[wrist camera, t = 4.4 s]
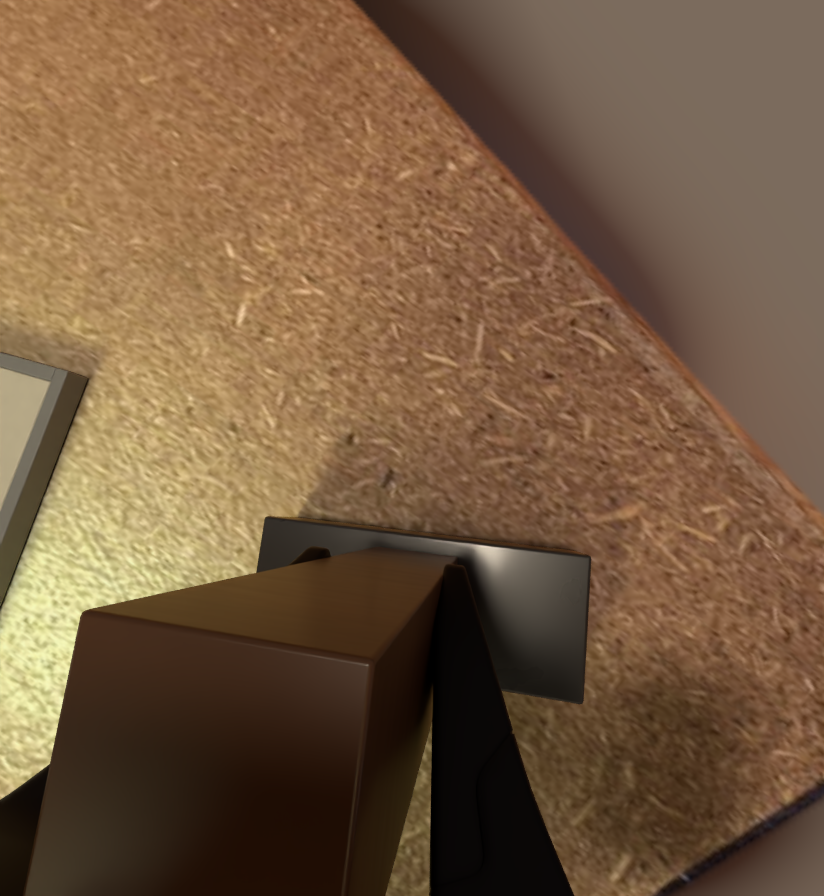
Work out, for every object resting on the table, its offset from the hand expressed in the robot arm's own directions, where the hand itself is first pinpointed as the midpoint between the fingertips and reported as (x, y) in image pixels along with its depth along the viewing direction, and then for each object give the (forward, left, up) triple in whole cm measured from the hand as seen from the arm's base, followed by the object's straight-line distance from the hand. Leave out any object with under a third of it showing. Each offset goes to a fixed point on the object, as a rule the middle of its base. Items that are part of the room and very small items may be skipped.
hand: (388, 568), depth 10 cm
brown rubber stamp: (-1, 0, -7) cm, 7 cm away
